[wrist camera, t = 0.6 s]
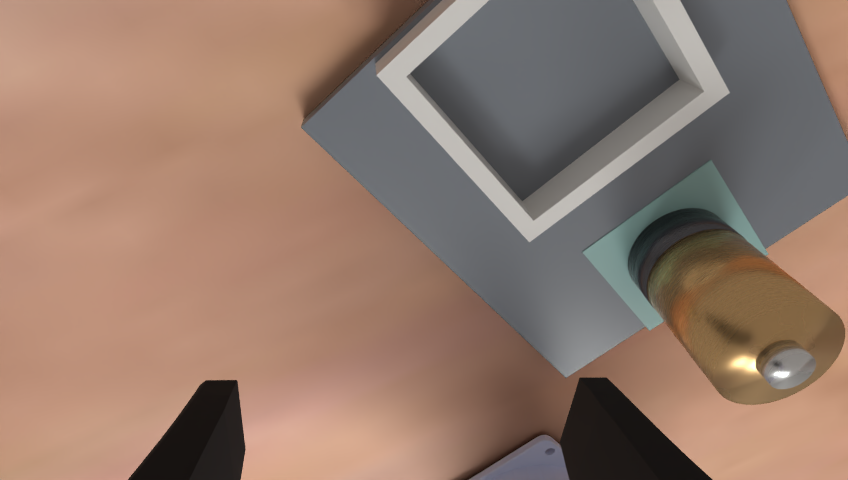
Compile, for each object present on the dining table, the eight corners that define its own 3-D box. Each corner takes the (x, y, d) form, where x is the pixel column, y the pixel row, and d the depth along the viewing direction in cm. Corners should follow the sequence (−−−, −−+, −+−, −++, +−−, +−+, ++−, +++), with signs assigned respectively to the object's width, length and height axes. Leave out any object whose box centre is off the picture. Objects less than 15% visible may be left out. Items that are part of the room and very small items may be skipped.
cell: (743, 253, 22) (879, 369, 16) (656, 310, 23) (754, 438, 17) (701, 187, 20) (836, 292, 14) (609, 252, 21) (701, 373, 15)
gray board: (851, 180, 21) (901, 206, 19) (563, 368, 25) (581, 406, 23) (667, -230, 14) (717, -255, 12) (303, 119, 18) (296, 143, 16)
